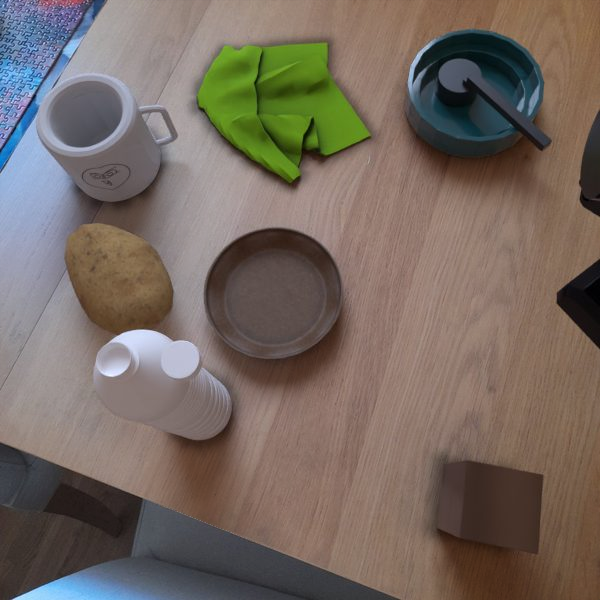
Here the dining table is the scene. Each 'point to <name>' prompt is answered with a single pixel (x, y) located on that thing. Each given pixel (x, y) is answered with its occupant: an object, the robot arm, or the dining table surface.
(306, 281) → the saucer
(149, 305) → the potato
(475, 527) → the brown rectangular block
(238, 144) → the cloth
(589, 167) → the robot arm
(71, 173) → the mug
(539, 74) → the bowl
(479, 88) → the ladle
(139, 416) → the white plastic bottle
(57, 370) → the dining table surface
